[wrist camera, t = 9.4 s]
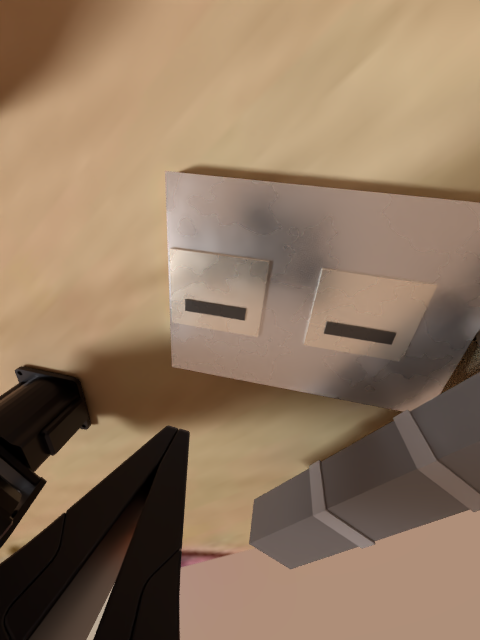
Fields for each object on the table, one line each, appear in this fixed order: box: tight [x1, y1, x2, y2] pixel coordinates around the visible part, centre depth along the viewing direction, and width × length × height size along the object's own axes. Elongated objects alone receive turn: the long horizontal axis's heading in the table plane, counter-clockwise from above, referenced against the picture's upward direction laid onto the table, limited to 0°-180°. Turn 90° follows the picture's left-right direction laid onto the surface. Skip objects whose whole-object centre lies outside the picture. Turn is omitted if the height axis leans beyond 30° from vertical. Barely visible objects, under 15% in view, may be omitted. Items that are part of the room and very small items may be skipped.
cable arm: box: [249, 329, 480, 569], centre depth 16 cm, size 22×4×7 cm, turn 143°
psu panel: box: [165, 171, 480, 412], centre depth 16 cm, size 18×13×2 cm
